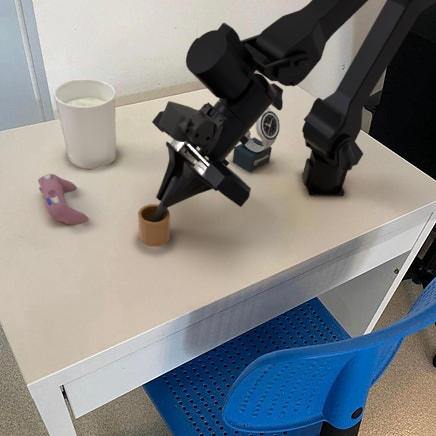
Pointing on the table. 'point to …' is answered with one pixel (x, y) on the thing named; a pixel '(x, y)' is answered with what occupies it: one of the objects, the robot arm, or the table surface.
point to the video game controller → (59, 199)
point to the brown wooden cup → (153, 226)
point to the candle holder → (88, 121)
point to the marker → (161, 208)
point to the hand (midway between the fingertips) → (161, 202)
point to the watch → (258, 143)
